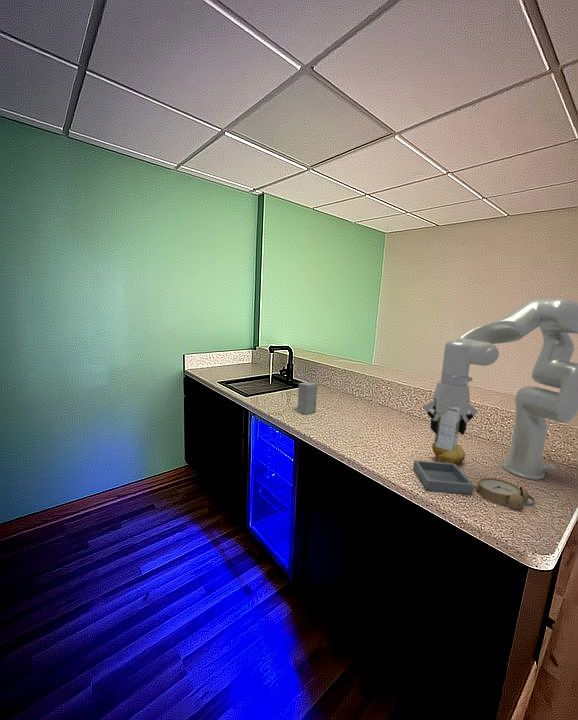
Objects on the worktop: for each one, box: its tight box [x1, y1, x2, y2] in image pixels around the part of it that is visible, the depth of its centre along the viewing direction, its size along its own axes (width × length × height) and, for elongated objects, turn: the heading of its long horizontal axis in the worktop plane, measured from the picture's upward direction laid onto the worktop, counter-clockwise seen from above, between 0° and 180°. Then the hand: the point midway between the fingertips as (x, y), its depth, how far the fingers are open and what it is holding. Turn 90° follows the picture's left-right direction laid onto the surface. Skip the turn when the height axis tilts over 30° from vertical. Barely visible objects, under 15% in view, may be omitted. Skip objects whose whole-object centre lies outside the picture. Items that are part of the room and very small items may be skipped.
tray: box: [412, 459, 475, 496], centre depth 107 cm, size 14×14×4 cm
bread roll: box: [431, 442, 466, 466], centre depth 122 cm, size 13×10×8 cm
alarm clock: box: [473, 477, 536, 510], centre depth 99 cm, size 11×5×15 cm
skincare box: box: [297, 381, 318, 416], centre depth 171 cm, size 8×7×16 cm
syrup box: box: [433, 406, 461, 451], centre depth 105 cm, size 6×6×14 cm
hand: (447, 431), depth 105 cm, fingers closed on syrup box, 7 cm apart
